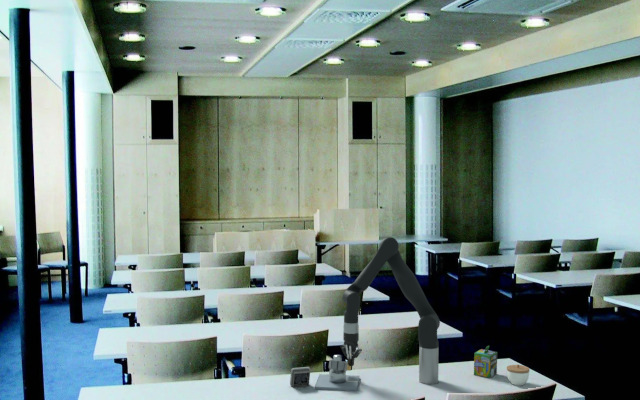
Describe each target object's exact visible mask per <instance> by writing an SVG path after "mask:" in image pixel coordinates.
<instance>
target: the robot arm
mask: <svg viewBox="0 0 640 400" xmlns="http://www.w3.org/2000/svg"><path fill="white" fill-rule="evenodd" d="M378 247H379V248H378V249H377V251H376V253H375V254H374V255H373V257H372V259H371V260H370V261H369V263H367V265H366V266H365V267H364V268H363V269H362V270H361V272H360V273H359V275H358V276H357V277H356V279H355V280H354V282H352V283H351V284H350V285H349V286H348V287H347V288H346V289H345V290H344V292H343V294H342V301H343V302H344V303H345V304H346V308H345V310H344V312H343V327H342V328H343V338H342V339H343V344H342V345H340V349H341V351H342V353H343V355H344V357H346V358H347V362H348V366H351V367H353V366H355V359H357V358H358V357H359V355H360V354H361V353H362V351H363V349H362V348H360V347H359V343H358V342H359V340H360V338H359V337H360V336H359V335H360V334H359V332H360V331H359V330H360V329H359V328H360V327H359V311H360V307H361V306H360V305H361V297H360V294H361V293H362V292H364V291H365V292H366V291H367V289H368V288H369V287H370V285H372V282H373V281H374V280H375V278H376V277H377V275H378V273H380V271H381V269H382V268H383V267H384V265H385V264H386V263H387V264H388V266H389V267H390V270H391V272H392V274H393V276H394V278H395V281H396V282H397V285H398V286H399V289H400V290H401V292H402V294H403V295H404V297H405V298H406V299H407V300H408V301H409V302H410V303H411V305H412V306H413V307H414V309H415V311H416V312H417V314H418V316H419V320H418V323H417V324H418V326H417V327H418V329H417V330H418V334H417V335H418V342H419V343H418V344H419V352H418V356H419V358H418V359H419V360H418V361H419V362H418V364H419V365H418V381H419V382H420V383H421V384H426V385H432V384H433V385H434V384H439V366H440V365H439V340H438V329H439V328H440V324H441V322H440V321H441V320H440V318H439V315H437V313H436V311H435V310H434V308H433V307H432V306H431V304H430V302H429V300H428V299H427V296H426V295H425V293H424V290H423V288H422V287H421V285H420V283H419V281H418V279H417V276H416V275H415V274H414V272H413V271H412V270H411V269H410V267H409V266H408V265H407V264H406V261H404V259H403V257H402V255H401V253H400V251H399V248H400V247H399V241H398V240H397V239H396V238H394V237H393V236H392V237H391V236H388V237H387V236H386V237H384V238H383V239H382V240H381V241H380V242H379V245H378Z"/></svg>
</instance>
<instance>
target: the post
mask: <svg viewBox="0 0 640 400" xmlns="http://www.w3.org/2000/svg"><path fill="white" fill-rule="evenodd" d="M332 357H333V358H332V359H333V360H334V361H341V362H342V360H343V358H342V357H343V355H341V354H334V355H333V356H332ZM328 375H329V382H331V383H335V384H341V383H345V382H346V375H347V371H343V370H336V369H332V370H330V369H329V374H328Z"/></svg>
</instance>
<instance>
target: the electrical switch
mask: <svg viewBox="0 0 640 400" xmlns="http://www.w3.org/2000/svg"><path fill="white" fill-rule="evenodd" d="M310 371H311V367H310V366H304V367H303V366H302V367H293V368H291V369H290V379H289V385H290V386H291V387H293V388H301V387H302V388H305V387H309V386H310V377H311V372H310Z"/></svg>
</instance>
